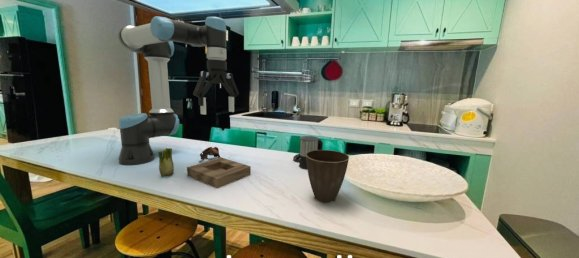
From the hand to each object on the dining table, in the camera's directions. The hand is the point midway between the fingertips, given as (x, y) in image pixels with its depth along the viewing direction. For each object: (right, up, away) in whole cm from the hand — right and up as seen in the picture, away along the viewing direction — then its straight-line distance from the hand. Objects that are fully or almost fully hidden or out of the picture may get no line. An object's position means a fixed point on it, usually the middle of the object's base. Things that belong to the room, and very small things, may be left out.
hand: (218, 113), depth 96 cm
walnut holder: (-1, -27, +5) cm, 28 cm away
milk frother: (+37, -25, +24) cm, 51 cm away
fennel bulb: (-23, -27, +4) cm, 36 cm away
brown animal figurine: (-11, -23, +25) cm, 36 cm away
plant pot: (+42, -32, -12) cm, 54 cm away
